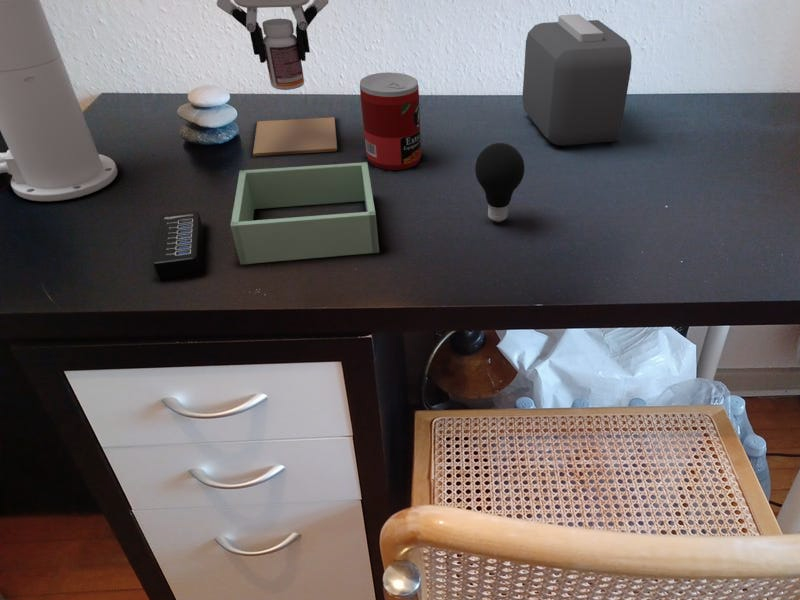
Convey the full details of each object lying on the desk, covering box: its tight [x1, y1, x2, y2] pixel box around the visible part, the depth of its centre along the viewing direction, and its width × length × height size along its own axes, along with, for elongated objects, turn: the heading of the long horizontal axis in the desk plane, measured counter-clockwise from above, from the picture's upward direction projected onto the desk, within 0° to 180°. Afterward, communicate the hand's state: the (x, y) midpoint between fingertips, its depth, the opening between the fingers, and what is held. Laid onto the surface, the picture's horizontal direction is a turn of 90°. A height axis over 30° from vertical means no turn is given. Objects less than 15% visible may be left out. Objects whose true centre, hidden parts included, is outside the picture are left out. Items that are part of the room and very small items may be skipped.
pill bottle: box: [261, 18, 305, 91], centre depth 93 cm, size 5×5×8 cm
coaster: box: [252, 116, 338, 157], centre depth 101 cm, size 12×12×1 cm
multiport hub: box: [152, 210, 204, 282], centre depth 75 cm, size 4×11×2 cm, turn 16°
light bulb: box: [474, 142, 525, 224], centre depth 79 cm, size 6×6×10 cm
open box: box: [230, 161, 380, 265], centre depth 79 cm, size 16×14×5 cm
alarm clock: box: [521, 13, 633, 146], centre depth 100 cm, size 16×11×16 cm
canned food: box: [359, 72, 422, 171], centre depth 92 cm, size 8×8×11 cm
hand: (283, 57), depth 93 cm, fingers closed on pill bottle, 4 cm apart
